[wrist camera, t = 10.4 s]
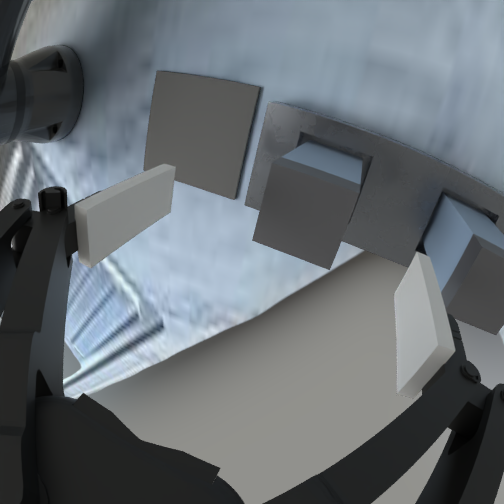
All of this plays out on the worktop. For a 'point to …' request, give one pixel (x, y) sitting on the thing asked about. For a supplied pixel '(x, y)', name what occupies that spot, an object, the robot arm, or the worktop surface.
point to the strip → (374, 181)
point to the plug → (309, 202)
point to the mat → (200, 129)
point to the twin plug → (467, 262)
